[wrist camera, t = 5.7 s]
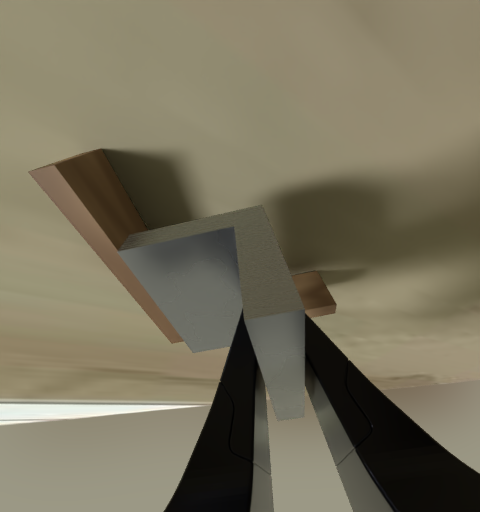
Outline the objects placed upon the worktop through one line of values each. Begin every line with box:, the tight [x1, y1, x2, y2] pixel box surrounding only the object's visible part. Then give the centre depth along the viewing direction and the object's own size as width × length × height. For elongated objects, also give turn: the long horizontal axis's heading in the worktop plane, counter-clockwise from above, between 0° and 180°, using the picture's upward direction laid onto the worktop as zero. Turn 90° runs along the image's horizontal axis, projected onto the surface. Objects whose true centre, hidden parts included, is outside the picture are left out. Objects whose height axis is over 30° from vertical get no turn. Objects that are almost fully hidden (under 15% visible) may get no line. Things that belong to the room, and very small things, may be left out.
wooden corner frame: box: [29, 149, 337, 343], centre depth 14 cm, size 14×15×4 cm
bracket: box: [117, 205, 305, 421], centre depth 8 cm, size 8×6×5 cm
